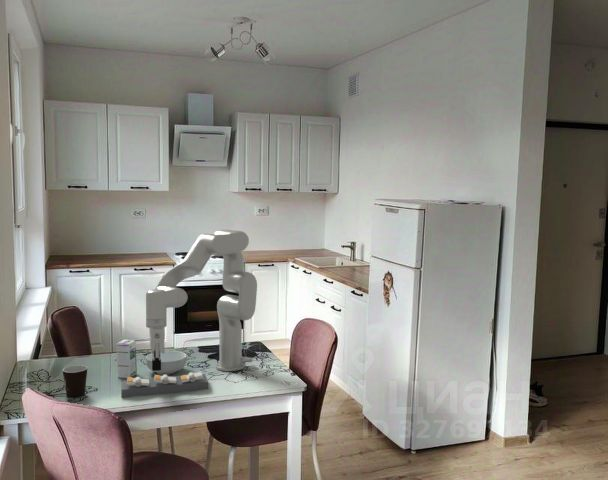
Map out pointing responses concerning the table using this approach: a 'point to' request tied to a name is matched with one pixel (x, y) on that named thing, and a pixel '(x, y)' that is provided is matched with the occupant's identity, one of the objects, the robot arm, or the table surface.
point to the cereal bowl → (168, 362)
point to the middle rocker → (164, 379)
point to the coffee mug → (75, 380)
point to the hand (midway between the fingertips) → (156, 369)
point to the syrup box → (126, 358)
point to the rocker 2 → (191, 377)
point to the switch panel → (163, 387)
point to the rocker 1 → (137, 381)
